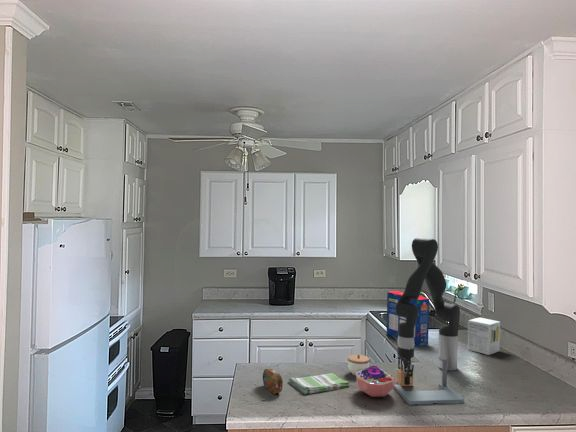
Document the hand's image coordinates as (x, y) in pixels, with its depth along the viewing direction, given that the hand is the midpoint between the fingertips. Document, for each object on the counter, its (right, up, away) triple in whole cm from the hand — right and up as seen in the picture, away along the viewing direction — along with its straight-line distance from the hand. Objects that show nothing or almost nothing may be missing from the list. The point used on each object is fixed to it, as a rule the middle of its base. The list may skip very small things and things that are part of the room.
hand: (404, 382), depth 211 cm
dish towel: (-40, -1, -2) cm, 40 cm away
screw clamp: (+7, -1, -12) cm, 14 cm away
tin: (-61, 0, -10) cm, 62 cm away
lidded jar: (-20, -1, +13) cm, 23 cm away
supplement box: (+60, -2, +55) cm, 82 cm away
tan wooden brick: (0, -1, 0) cm, 1 cm away
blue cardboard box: (+20, -1, +75) cm, 78 cm away
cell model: (-17, -1, -12) cm, 21 cm away
